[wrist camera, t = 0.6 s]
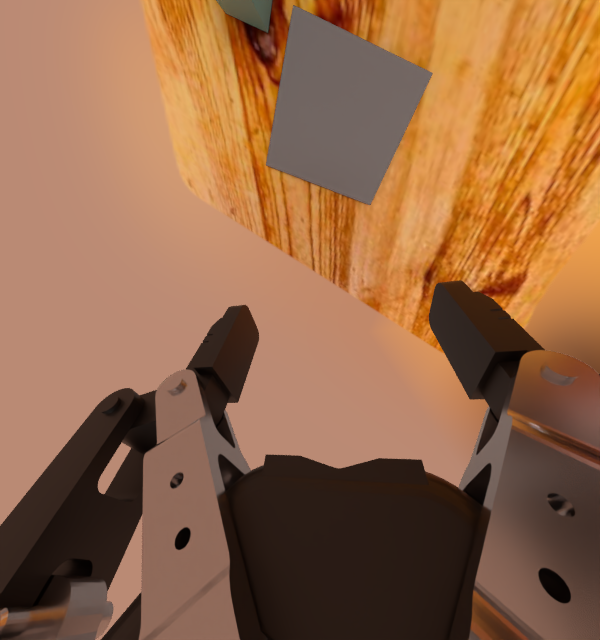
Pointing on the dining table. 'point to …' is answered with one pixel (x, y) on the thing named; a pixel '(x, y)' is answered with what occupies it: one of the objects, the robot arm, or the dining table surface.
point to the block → (249, 11)
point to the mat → (340, 107)
